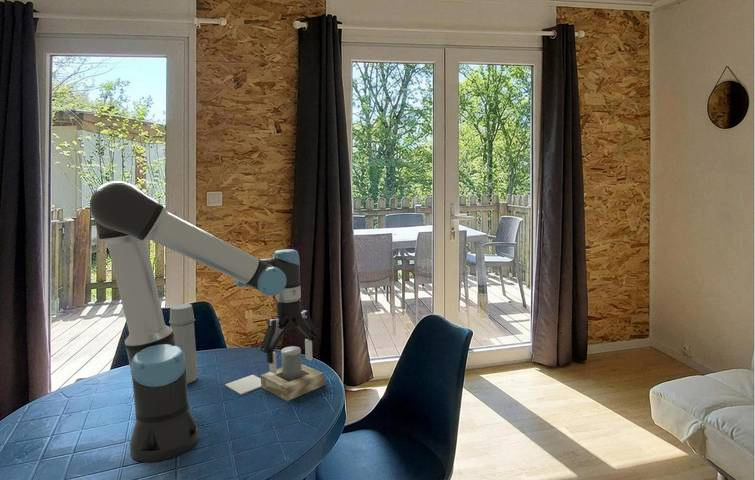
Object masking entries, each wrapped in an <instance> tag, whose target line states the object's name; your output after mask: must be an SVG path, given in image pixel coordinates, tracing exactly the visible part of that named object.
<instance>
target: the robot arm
mask: <svg viewBox="0 0 755 480" xmlns="http://www.w3.org/2000/svg"><path fill="white" fill-rule="evenodd" d="M89 209H90V213H91V215H92V217H93V219H94V224H95V227H96V231H97V235H98V240H99V241H101V242H102V243H104V244H105V245H107V248H108V251H109V255H110V260H111V263H112V267H113V272H114V276H115V280H116V285H117V289H118V292H119V296H120V301H121V305H122V309H123V312H124V319H125V322H126V326H127V329H128V336H127V337H126V338H125V340H124V346H125V350H126V354H127V358H128V365H129V368H130V375H131V383H132V390H133V400H134V411H135V412H134V413H135V424H134V427H133V430H132V434H131V438H130V442H129V451H130V453H129V454H130V456H131V458H133V460H136V461H138V462H144V463H155V462H162V461H165V460H169V459H173V458H175V457H177V456H180V455H182V454H183V453H186V452H188V451H189V450H190V449H192V448H193V447H194V446H195V444H196V443H197V442H198V440H199V429H198V425H197V423H196V421H195V418H194V416H193V414H192V412H191V410H190V406H189V394H188V384H187V378H186V358H185V355H184V352H183V350H182V349H181V348H179V347H178V346H176V342H175V338H174V334H173V329H172V328H171V327H170V325H166V323H165V319H164V314H163V310H162V303H161V301H160V296H159V292H158V288H157V287H158V286H157V283H156V278H155V273H154V270H153V265H152V261H151V257H150V253H149V252H150V251H149V248H148V243H147V241H153V242H155V243H157V244H160V245H161V246H163V247H166V248H167V249H170V250H171V251H174V252H176V253H178V254H180V255H182V256H185V257H187V258H189V259H191V260H193V261H195V262H198V263H199V264H201V265H204V266H205V267H208V268H209V269H212V270H214V271H217V272H219V273H221V274H223V275H225V276H228V277H229V278H232V279H233V281H234V283H235V285H236V286H237V287H239V288H243V287H245V288H249V287H250V288H253V289H254V290H257V291H259V292H260V294H261V293H262V295H265V296H271V297H272V296H275V299H276V313H277V317H276V318H273V319H272V318H269V319H268V320H267V322H268V323H267V328H266V331H265V333H264V337H263V340H262V342H261V346H260V348H259V350H260V352H262V353H265V354H266V363H267V364H268V365H269V366H268V367H269V372H271V373H273V374H276V373H277V369H278V368H277V353H276V352H275V349H276V348H277V346H278V344H279V342H280V341H281V338H282V337H283V336H284V334H286V332H287V331H291V330H294V329H295V330H296V329H298V330H299V332H301V334H303V336H305V337H306V338H305V339H304V351H305V359H306V360H308V361H313V360H314V359H313V350H314V346H315V345H314V341H315V340H316V339H317V337H318V336H320V335H319V332H318V330H317V328H316V327H315V325H314V321H312V319H311V314H310V311H309V310H306V309H303V310H302V300H301V298H302V297H301V295H302V292H301V291H302V290H301V269H300V268H301V262H300V255H299V252H298V250H296V249H293V248H290V249H289V248H288V249H287V248H286V249H284V248H283V249H277V250H275V251H274V252H273V257H268V258H261V259H260V258H258V257H256V256H254V255H252V254H250V253H248V252H246V251H244V250H243V249H241V248H239V247H237V246H234V245H233V244H231V243H229V242H227V241H225V240H223V239H221V238H219V237H217V236H215V235H213V234H211V233H210V232H208V231H205V230H204V229H202V228H199V226H196V225H193V224H192V223H190V222H188V221H186V220H184V219H182V218H180V217H178V216H176V215H174V214H173V213H171V212H168V211H167V208H166V206H165V205H164V204H161V203H160V202H159V201H157V200H155V199H153V198H152V197H150V196H149V195H147V194H146V193H144V192H143V191H142V190H141V189H139V188H138V187H136V186H135V185H134V184H131V183H129V182H125V181H121V180H120V181H119V180H115V181H109V182H105V183H103V184H101V185H100V186H98V187H97V188H96V189H95V190H94V191H93V193H92V195H91V198H90V200H89ZM301 319H303V321H304V323H305V325H306V326H305V325H304V324H303V323H302V321H301Z"/></svg>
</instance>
